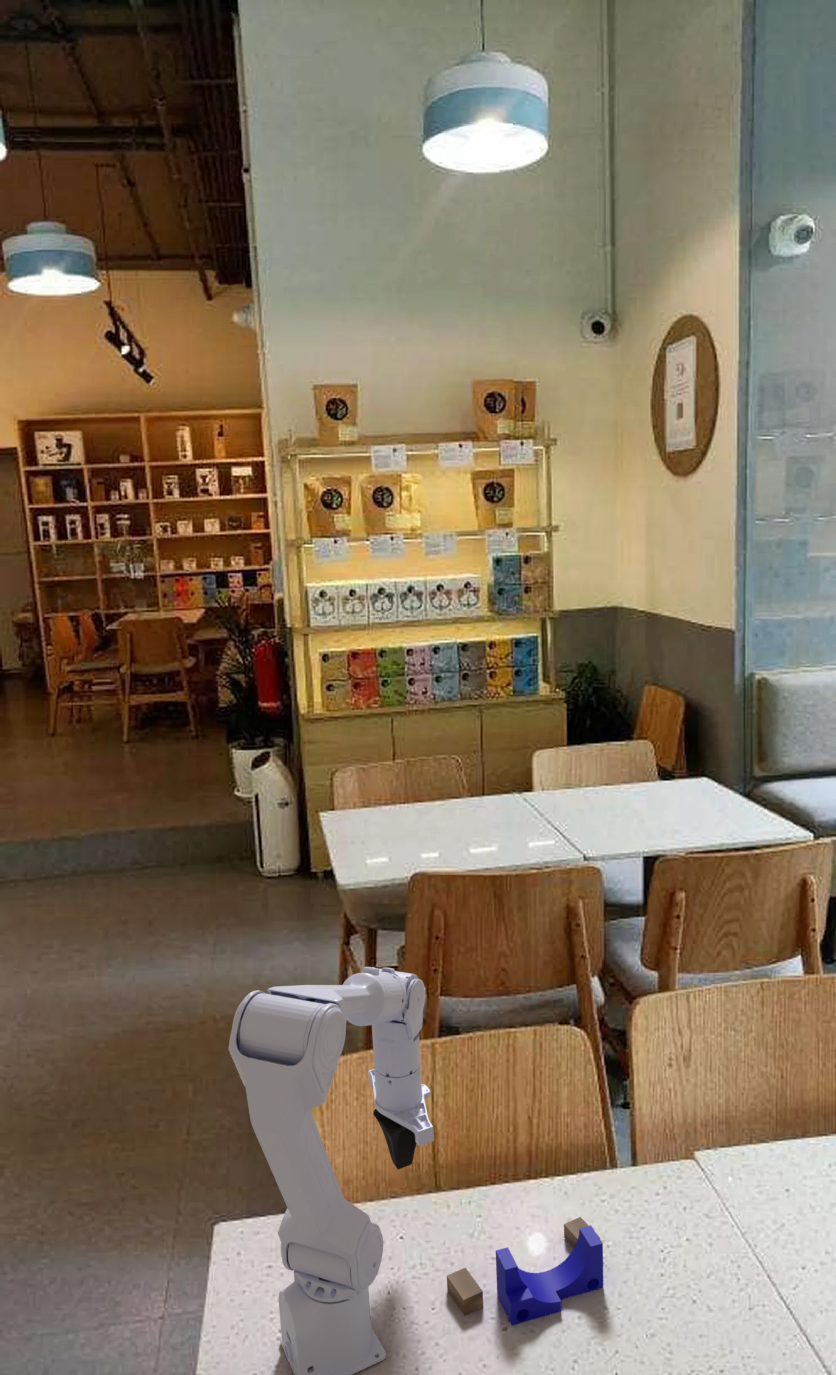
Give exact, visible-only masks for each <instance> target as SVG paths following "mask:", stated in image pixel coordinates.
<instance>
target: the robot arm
mask: <svg viewBox="0 0 836 1375" xmlns="http://www.w3.org/2000/svg"><path fill="white" fill-rule="evenodd" d="M267 992H268V993H266V992H265V991H262V990H259V989H257V990H253V991H251V992H249V993H248V994H247V995H246V996H245V997H244V998H243V1000H241V1002H240V1004H238V1006H237V1008H236V1010H235V1013H234V1017H233V1020H232V1026H231V1031H230V1036H229V1041H228V1049H227V1050H228V1051H229V1054H230V1057H231V1058H232V1062H233V1063H234V1066H235V1068H236V1070H237V1072H238V1075H239V1077H240V1079H241V1081H242V1082H241V1083H242V1085H243V1086H244V1087H245V1093H246V1094H245V1095H246V1100H247V1106H248V1113H249V1119H250V1123H251V1127H252V1129H253V1131H254V1133H255V1136H256V1139H257V1140H258V1143H259V1145H260V1148H261V1149H262V1152H263V1155H264V1156H265V1159H266V1161H267V1163H268V1166H269V1168H270V1170H271V1173H272V1174H273V1176H274V1177H273V1178H274V1180H275V1182H276V1184H277V1187H278V1190H279V1191H280V1194H281V1196H282V1197H283V1200H284V1203H285V1204H286V1207H287V1208H286V1210H285V1212H284V1215H283V1216H282V1219H281V1222H280V1225H279V1227H278V1231H277V1235H278V1238H279V1240H280V1257H281V1261H282V1264H283V1266H284V1268H285V1269H286V1270H289V1271H292V1272H293V1279H294V1281H292V1283H290V1284H289V1285H288V1286H286V1287H285V1288H283V1289H281V1290H280V1291H279V1293H278V1308H279V1309H278V1310H279V1319H280V1320H279V1323H280V1334H281V1336H280V1337H279V1338H280V1339H279V1342H280V1344H281V1347H282V1349H283V1351H284V1355H285V1357H286V1361H288V1364H289V1366H290V1368H291V1370H292V1373H293V1375H354V1374H357V1373H358V1372H360V1371H363V1370H365V1369H368V1367H371V1366H373V1365H375V1364H377V1363H379V1362H381V1361H382V1362H383V1361H384V1360H386V1359H387V1358H386V1357H387V1352H386V1351H385V1348H384V1347H383V1345H382V1343H381V1341H380V1339H379V1337H378V1336H377V1334H376V1332H375V1331H374V1328H373V1327H372V1323H371V1322H372V1321H371V1307H370V1305H371V1304H370V1290H369V1287H370V1286H371V1285H372V1284H373V1283H374V1281H375V1279H376V1277H377V1275H378V1273H379V1270H380V1267H381V1263H382V1259H383V1253H384V1238H383V1237H384V1236H383V1234H382V1230H381V1228H380V1226H379V1224H377V1223H375V1222H372V1221H371V1220H372V1219H370V1218H371V1217H370V1215H369V1214H368V1213H366V1212H365V1211H363V1210H362V1209H360V1208H359V1207H357V1206H356V1205H354V1204H353V1203H351V1202H350V1201H348V1200H346V1199H345V1198H344V1195H343V1192H342V1189H341V1187H340V1185H339V1182H338V1180H337V1179H338V1178H337V1177H336V1174H335V1171H334V1169H333V1166H332V1164H331V1161H330V1159H329V1156H328V1153H327V1151H326V1148H325V1145H324V1142H323V1140H322V1137H321V1134H320V1132H319V1130H318V1127H317V1124H316V1121H315V1119H314V1116H313V1114H312V1111H311V1110H313V1109H314V1108H316V1107H319V1106H320V1105H321V1106H322V1105H323V1104H325V1102H326V1101H327V1096H328V1094H329V1091H330V1089H331V1087H332V1083H333V1080H334V1077H335V1074H336V1070H337V1067H338V1063H339V1061H340V1058H341V1054H342V1052H343V1049H344V1046H345V1041H346V1034H347V1031H346V1030H347V1022H349V1023H350V1024H352V1025H353V1026H357V1027H367V1026H371V1035H372V1036H371V1037H372V1050H373V1051H372V1052H373V1053H372V1056H373V1069H369V1070H368V1072H367V1073H368V1084H369V1086H370V1087H372V1090H373V1091H372V1093H373V1102H374V1107H375V1108H374V1110H373V1114H372V1115H373V1116H374V1118H375V1119H376V1121H377V1122H378V1124H379V1126H380V1128H381V1130H382V1133H383V1135H384V1138H385V1141H386V1144H387V1148H388V1153H389V1156H390V1159H391V1162H392V1163H393V1165H394V1166H395V1168H396V1169H397V1170H400V1169H404V1168H406V1167H409V1166H411V1165H413V1161H414V1160H413V1159H414V1156H415V1153H416V1152H415V1151H416V1148H417V1147H416V1146H418V1147H421V1146H424V1145H427V1144H429V1143H432V1142H434V1141H435V1138H434V1136H435V1135H434V1126H433V1124H432V1123H431V1121H430V1118H429V1115H428V1110H427V1104H426V1100H425V1099H427V1098H430V1097H431V1090H430V1089H429V1087H428V1086H427V1085H426V1084H424V1083H422V1067H421V1066H422V1065H421V1047H420V1031H421V1030H422V1028H423V1022H424V1019H423V1018H424V1017H423V1015H424V1007H425V1001H426V987H425V984H424V982H423V980H422V979H420V978H419V977H418V975H417V974H416V973H410V972H404V971H403V972H402V971H397V970H395V968H391V967H382V968H379V967H378V968H376V967H375V966H372V967H371V966H364V967H363V968H362V972H358V973H354V974H352V975H350V976H349V977H347V978H346V979H345V981H344V982H343V984H301V985H300V984H298V985H296V984H295V985H280V986H272V987H270V988H267Z"/></svg>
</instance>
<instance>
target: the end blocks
mask: <svg viewBox="0 0 836 1375" xmlns="http://www.w3.org/2000/svg"><path fill="white" fill-rule="evenodd" d="M586 1226H590V1225H589V1224H588V1223H587V1222H586V1221H585V1219H583V1218H582V1217H581V1216H579V1217H577V1218H575V1219H572V1220H570V1221H568V1222H565V1223H564V1224H563V1238H565V1239H566V1240H567V1241H568V1242H569V1243H568V1242H567V1241H566V1240H565V1239H564V1240H565V1241H566V1242H567V1243H568V1244H569V1246H570V1247H571V1248H572V1247H573V1248H574V1247H575V1245H576V1243H577V1240H578V1237H579V1228H583V1227H586ZM598 1237H599V1238H600V1239H601V1237H600V1236H599V1235H598ZM573 1248H572V1249H573ZM446 1291H447V1292H448V1294H449V1295H450V1297H451V1298H452V1300H453V1301H454V1303H455V1304H456V1306H457V1307H458V1309H460V1311H461V1313H462V1314H463V1316H466V1315H468V1314H471V1313H473V1312H475V1311H477V1310H479V1309H482V1308H483V1307H484V1294H483V1293H484V1291H483V1290H482V1288H481V1287H480V1285H479V1284H478V1283H477V1281H476V1280H475V1279H474V1277H473V1276H472V1274H471V1273H470V1272H469V1270H468V1268H466V1267H463V1268H461V1269H459V1270H457V1271H454V1272H453V1273H452V1272H451V1273H449V1274H447V1275H446Z"/></svg>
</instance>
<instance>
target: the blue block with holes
mask: <svg viewBox="0 0 836 1375" xmlns="http://www.w3.org/2000/svg"><path fill="white" fill-rule="evenodd" d="M596 1232H597V1231H595V1229H594V1228H593V1226H592V1225H589V1226H586V1227H583V1228H579V1237H578V1240H577V1243H576V1245H575V1247H574V1249H573V1248H572V1249H573V1250H572V1251H571V1252H570V1254H569V1255H568V1256H567V1257H566V1258H565V1259H564V1260H563V1261H562V1262H561V1263H559V1264H558V1265H557V1266H555V1267H553V1268H551V1269H548V1270H546V1271H541V1272H528V1271H525V1270H522V1269H521V1268H519V1267H518V1264H517V1262H516V1260H515V1259H514V1256H513V1255H512V1253H511V1251H510V1249H509V1247H508V1246H507V1247H503V1248H500V1249H497V1250H495V1266H496V1267H495V1268H496V1269H495V1271H496V1272H495V1273H496V1295H497V1297H498V1299H499V1302H500V1303H501V1305H502V1306H501V1307H502V1308H503V1311H504V1313H505V1315H506V1318H507V1320H508V1321H509V1323H510V1324H509V1325H511V1327H513V1326H516V1325H519V1324H523V1323H526V1322H529V1321H533V1320H536V1319H539V1318H544V1317H547V1316H551V1315H554V1314H557V1313H560V1312H562V1300H566V1299H568V1297H569V1298H571V1297H575V1296H579V1295H582V1294H586V1293H590V1292H593V1291H597V1290H600V1289H604V1249H603V1248H604V1245H603V1244H604V1243H603V1242H602V1240H601V1237H600V1236H599V1234H598V1233H596ZM598 1236H599V1237H600V1238H599V1237H598ZM565 1298H566V1299H565Z"/></svg>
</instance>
